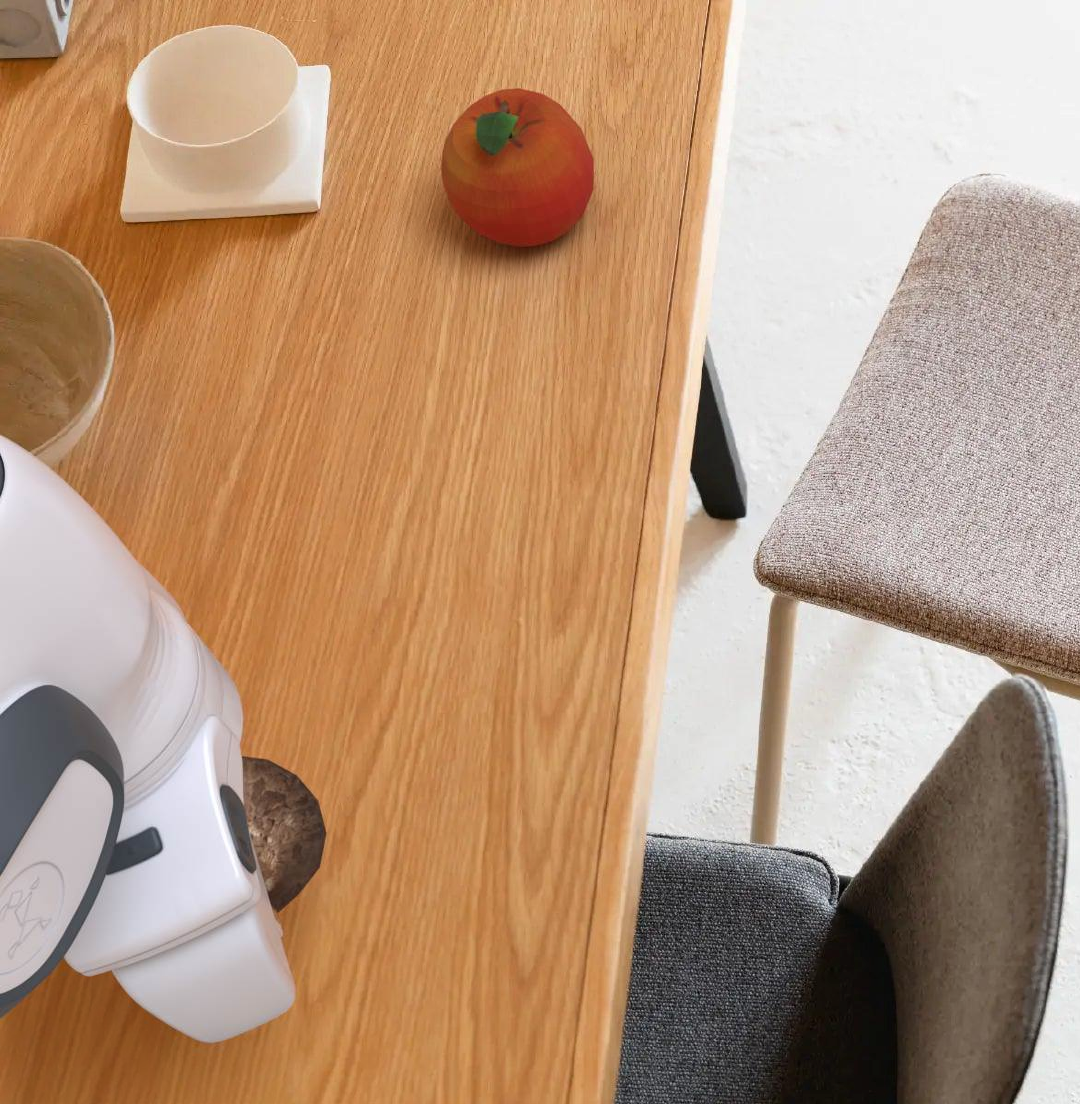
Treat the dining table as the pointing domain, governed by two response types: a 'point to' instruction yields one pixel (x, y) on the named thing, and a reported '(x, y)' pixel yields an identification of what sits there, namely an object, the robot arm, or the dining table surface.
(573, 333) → the dining table surface
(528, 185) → the fruit
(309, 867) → the mushroom
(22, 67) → the dining table surface
